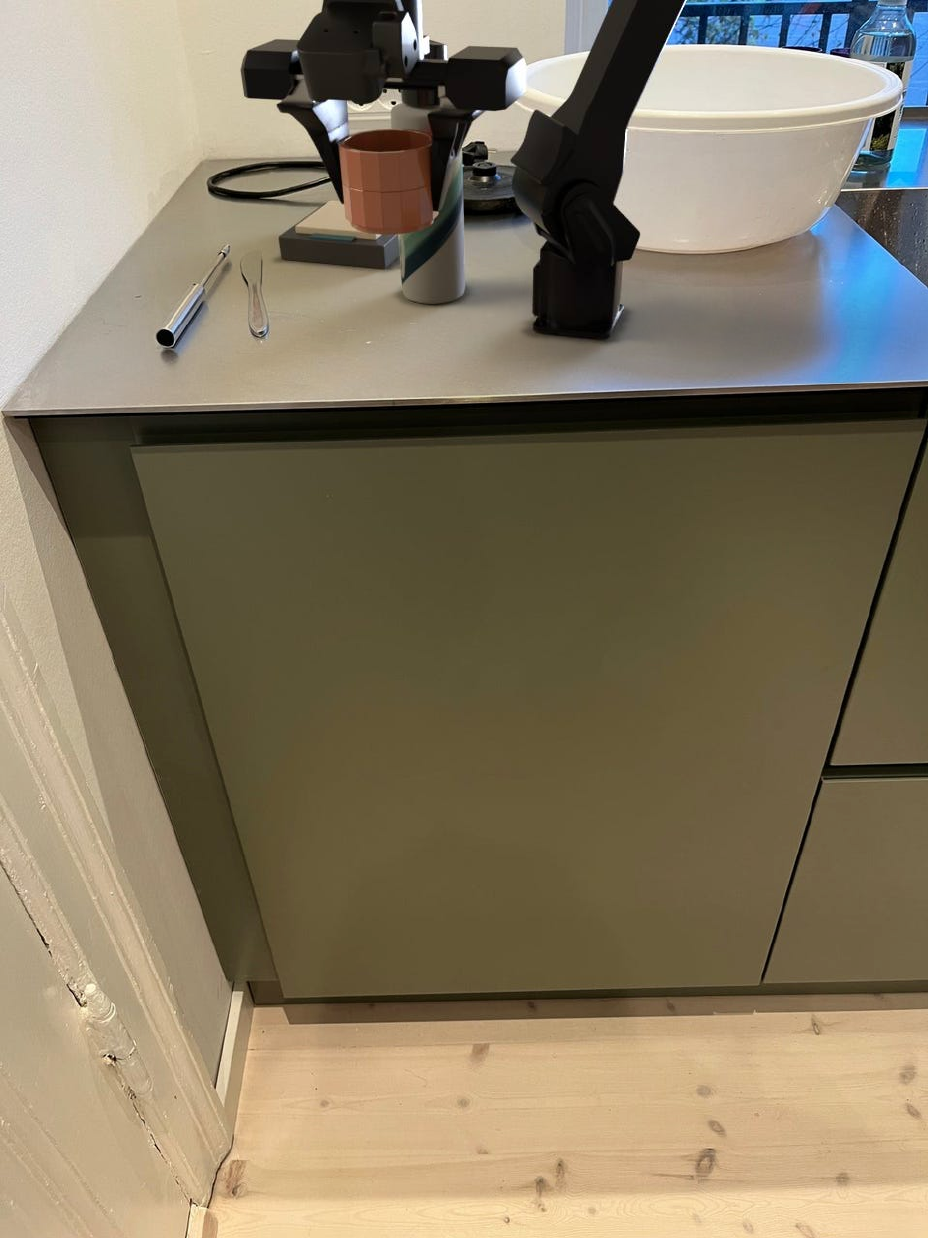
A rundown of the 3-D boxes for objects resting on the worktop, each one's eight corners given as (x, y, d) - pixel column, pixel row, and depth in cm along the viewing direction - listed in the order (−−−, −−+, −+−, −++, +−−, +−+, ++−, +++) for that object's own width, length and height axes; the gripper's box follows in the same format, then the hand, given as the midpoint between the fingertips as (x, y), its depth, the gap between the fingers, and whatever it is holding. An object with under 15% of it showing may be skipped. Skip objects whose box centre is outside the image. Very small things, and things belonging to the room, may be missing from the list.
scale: (424, 231, 100) (423, 202, 99) (385, 269, 92) (382, 238, 91) (327, 223, 103) (324, 195, 101) (281, 259, 95) (276, 229, 93)
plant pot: (450, 210, 73) (448, 131, 70) (420, 239, 68) (416, 155, 65) (366, 204, 75) (360, 126, 72) (331, 231, 70) (323, 149, 67)
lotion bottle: (392, 288, 88) (373, 35, 76) (447, 276, 90) (439, 27, 78) (418, 309, 85) (404, 46, 72) (476, 296, 86) (472, 38, 74)
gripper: (178, -40, 58) (224, 231, 67) (479, -35, 53) (481, 254, 63) (263, -58, 66) (292, 185, 76) (530, -56, 61) (525, 203, 71)
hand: (390, 206), depth 71 cm, fingers closed on plant pot, 7 cm apart
